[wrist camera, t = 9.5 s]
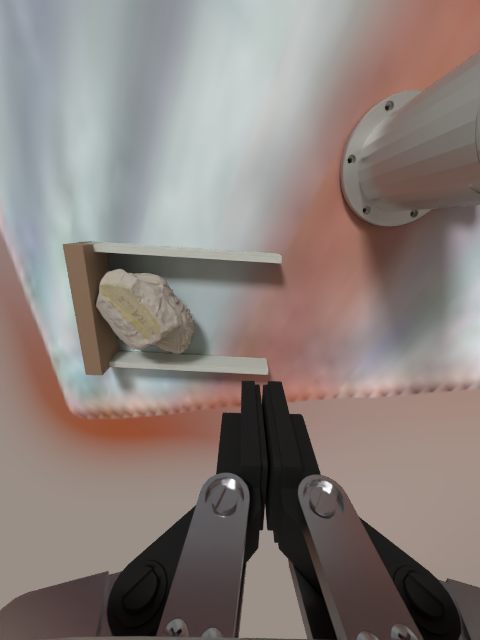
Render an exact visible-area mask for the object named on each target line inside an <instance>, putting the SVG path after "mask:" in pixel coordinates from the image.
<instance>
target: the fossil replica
mask: <svg viewBox="0 0 480 640" xmlns="http://www.w3.org/2000/svg"><path fill="white" fill-rule="evenodd" d="M95 306H96V307H97V308H98V310H99V311H100V313H101V315H102V316H103V317H104V319H105V320H106V321H107V322H108V323H109V325H110V326H111V328H112V329H113V331H114V332H115V334H116V335H117V336H118V337H119V338H120V340H122V341H123V342H124V343H126V344H127V345H128V346H130V347H131V348H132V349H137V350H139V349H140V350H143V349H146V348H147V347H149V346H151V345H155V346H157V347H158V348H160V349H162V350H165V351H170V352H172V353H174V354H178V353H179V354H181V353H183V352H184V351H185V350H186V349H187V348H188V347H189V346H190V344H189V343H190V341H191V337H192V336H193V332H194V328H193V327H194V326H195V325H194V323H193V321H194V320H193V319H192V314H190V310H188V309H187V306H185V305H183V304H182V302H181V301H179V300H178V298H177V296H175V295H174V294H173V290H171V288H170V287H169V285H168V284H167V282H166V280H165V279H163V278H162V277H160V276H158V275H154V274H151V273H140V274H139V273H135V274H133V273H129V274H128V273H127V272H126V271H124V270H122V269H117V270H114V271H109V272H107V273H106V274H105V275H104V277H103V278H102V280H101V282H100V286H99V295H98V297H97V301H96V305H95Z"/></svg>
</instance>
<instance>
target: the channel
mask: <svg viewBox="0 0 480 640" xmlns="http://www.w3.org/2000/svg"><path fill="white" fill-rule="evenodd" d="M63 249H64V254H65V260H66V265H67V271H68V277H69V282H70V288H71V293H72V299H73V305H74V310H75V316H76V321H77V327H78V333H79V338H80V344H81V350H82V355H83V361H84V366H85V372H86V375H103V374H104V373H105V372H106V371H107V369H108V368H109V367H123V368H142V369H162V370H182V371H202V372H222V373H242V374H262V375H268V365H267V360H266V358H247V357H228V356H209V355H189V354H170V353H151V352H132V351H119V345H118V337H117V335H116V334H115V332H114V331H113V329H112V328H111V326H110V325H109V323H108V322H107V321H106V320H105V319H104V317H103V316H102V315H101V313H100V311H99V310H98V308H97V307H96V306H95V305H96V301H97V297H98V295H99V286H100V282H101V280H102V278H103V277H104V275H105V274H106V273H107V272H109V271H110V270H109V262H108V253H123V254H139V255H155V256H171V257H187V258H203V259H219V260H235V261H251V262H267V263H281V259H282V256H281V255H280V254H278V253H265V252H249V251H233V250H218V249H202V248H186V247H170V246H155V245H139V244H123V243H108V242H92V241H88V242H79V243H71V244H63Z"/></svg>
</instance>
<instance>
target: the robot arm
mask: <svg viewBox="0 0 480 640" xmlns="http://www.w3.org/2000/svg"><path fill="white" fill-rule="evenodd" d="M385 108H386V109H387V111H386V110H385ZM348 159H350V164H349V163H348ZM340 182H341V189H342V192H343V195H344V198H345V200H346V202H347V204H348V206H349V207H350V209H351V210H352V211H353V212H354V213H355V214H356V215H357V216H358V217H359V218H361V219H362V220H364V221H366V222H368V223H370V224H373V225H378V226H398V225H404V224H407V223H410V222H413V221H415V220H416V219H418V218H420V217H422V216H424V215H425V214H426V213H428V212H429V211H430V210H432V209H434V208H447V207H459V206H471V205H480V50H479V51H478V52H477V53H475V54H474V55H472V56H471V57H470V58H468V59H467V60H466V61H464V62H463V63H461V64H460V65H459V66H457V67H456V68H454V69H453V70H452V71H450V72H449V73H447V74H446V75H445V76H443V77H442V78H441V79H439V80H438V81H436V82H435V83H434V84H432V85H431V86H429V87H428V88H427V89H425V90H407V91H403V92H399V93H396V94H394V95H392V96H390V97H388V98H386V99H384V100H382V101H381V102H380V103H378V104H377V105H376V106H374V107H373V108H372V109H371V110H370V111H369V112H368V113H367V114H365V115H364V116H363V118H362V119H361V120H360V121H359V123H358V124H357V125H356V126H355V128H354V130H353V131H352V133H351V135H350V137H349V138H348V141H347V143H346V146H345V148H344V151H343V155H342V160H341V165H340ZM363 208H364V209H365V211H364V213H363ZM410 213H411V215H410ZM265 507H266V519H267V529H268V530H273V533H274V542H275V543H278V545H279V549H280V550H281V551H282V552H283V553H284V555H285V556H286V557H287V558H288V561H289V568H290V572H291V576H292V579H293V584H294V588H295V592H296V596H297V600H298V603H299V608H300V611H301V615H302V619H303V623H304V627H305V631H306V635H307V639H266V638H239V630H240V620H241V611H242V602H243V593H244V584H245V574H246V563H247V561H248V560H249V559H250V558H251V556H252V555H253V554H254V553H255V551H256V550H257V549H258V542H259V530H263V520H264V509H265ZM0 640H480V588H479V587H476V586H472V585H469V584H465V583H462V582H459V581H455V580H451V579H447V580H446V582H444V581H440V580H438V579H437V578H435V577H434V576H433V575H432V574H431V573H430V572H429V571H428V570H426V569H425V568H424V567H423V566H422V565H420V564H419V563H418V562H416V561H415V560H414V559H413V558H411V557H410V556H409V555H407V554H406V553H405V552H404V551H402V550H401V549H400V548H398V547H397V546H396V545H394V544H393V543H392V542H390V541H389V540H388V539H387V538H385V537H384V536H383V535H382V534H380V533H379V532H378V531H376V530H375V529H374V528H372V527H371V526H370V525H368V523H366V522H365V521H364V520H362V519H361V518H360V517H358V515H357V513H356V511H355V509H354V507H353V505H352V504H351V501H350V500H349V498H348V496H347V494H346V493H345V491H344V490H343V488H342V487H341V486H340V485H339V484H338V483H337V482H336V481H334V480H332V479H330V478H329V477H326V476H323V475H321V474H320V471H319V468H318V464H317V461H316V458H315V455H314V451H313V448H312V445H311V442H310V438H309V435H308V432H307V429H306V425H305V422H304V419H303V416H302V415H301V414H289V411H288V406H287V402H286V398H285V394H284V390H283V386H282V382H278V381H268V385H263V395H262V403H261V394H260V385H255V381H242V393H241V413H223V415H222V424H221V434H220V443H219V453H218V463H217V473H216V475H214V476H213V477H211V478H209V479H208V480H207V481H206V483H205V484H204V485H203V487H202V489H201V491H200V494H199V498H198V501H197V504H196V506H195V507H194V508H192V509H191V510H190V511H189V512H188V513H187V514H185V515H184V516H183V517H182V518H181V519H180V520H179V521H177V522H176V523H175V524H174V525H173V526H172V527H171V528H169V529H168V530H167V531H166V532H165V533H164V534H163V535H162V536H160V537H159V538H158V539H157V540H156V541H155V542H153V543H152V544H151V545H150V546H149V547H148V548H147V549H146V550H144V551H143V552H142V553H141V554H140V555H139V556H137V557H136V558H135V559H134V560H133V561H132V562H131V563H130V564H128V566H127V567H126V568H125V569H124V570H123V571H121V572H118V573H114V574H110V575H109V572H108V571H106V572H102V573H99V574H95V575H91V576H87V577H84V578H80V579H76V580H72V581H69V582H65V583H61V584H58V585H54V586H50V587H46V588H43V589H39V590H35V591H31V592H28V593H25V594H23V595H21V596H19V597H17V598H15V599H14V600H12V601H11V602H10V603H8V604H7V605H6V606H5V607H3V608H2V609H1V610H0Z"/></svg>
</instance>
